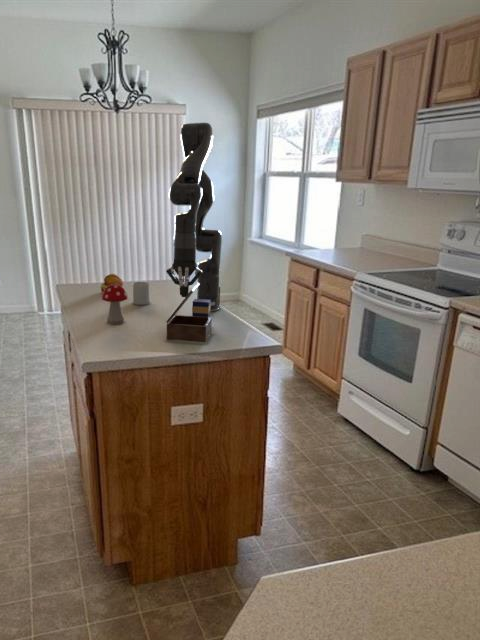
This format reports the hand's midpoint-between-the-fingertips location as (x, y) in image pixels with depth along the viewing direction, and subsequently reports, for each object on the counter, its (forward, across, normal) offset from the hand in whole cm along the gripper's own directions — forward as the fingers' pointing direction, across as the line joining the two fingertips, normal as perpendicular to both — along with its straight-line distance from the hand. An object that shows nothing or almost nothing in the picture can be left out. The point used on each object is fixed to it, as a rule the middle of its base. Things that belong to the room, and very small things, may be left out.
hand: (184, 296), depth 186 cm
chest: (+15, -2, 0) cm, 15 cm away
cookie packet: (+15, -4, -12) cm, 20 cm away
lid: (+2, 0, 0) cm, 2 cm away
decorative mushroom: (+15, +30, -12) cm, 36 cm away
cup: (+15, +30, -47) cm, 58 cm away
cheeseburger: (+15, +49, -62) cm, 80 cm away
